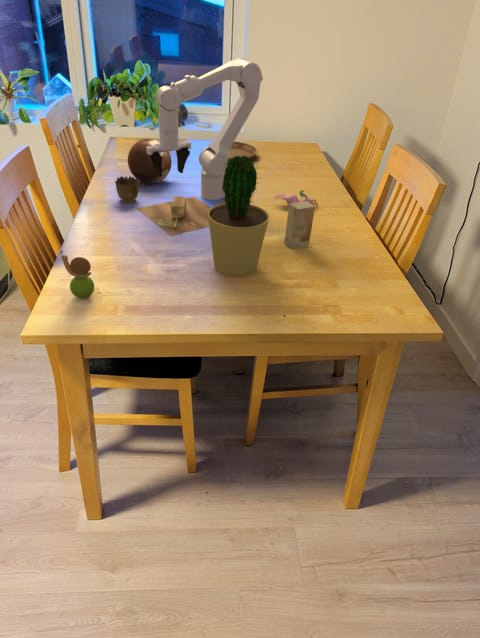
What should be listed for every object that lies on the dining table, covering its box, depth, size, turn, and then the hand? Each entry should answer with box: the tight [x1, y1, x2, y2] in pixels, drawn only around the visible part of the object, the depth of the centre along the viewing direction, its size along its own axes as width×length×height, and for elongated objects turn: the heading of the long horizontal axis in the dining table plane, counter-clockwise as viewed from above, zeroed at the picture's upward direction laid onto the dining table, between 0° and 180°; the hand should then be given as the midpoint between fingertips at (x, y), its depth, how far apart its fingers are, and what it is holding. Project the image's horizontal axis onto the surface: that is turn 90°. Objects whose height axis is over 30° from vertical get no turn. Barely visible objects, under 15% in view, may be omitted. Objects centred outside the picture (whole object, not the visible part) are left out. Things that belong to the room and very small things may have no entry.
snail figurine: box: [59, 249, 95, 299], centre depth 118 cm, size 5×6×12 cm
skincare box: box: [283, 201, 316, 249], centre depth 147 cm, size 6×4×12 cm
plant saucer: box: [227, 141, 258, 163], centre depth 212 cm, size 21×21×3 cm
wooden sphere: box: [127, 138, 172, 185], centre depth 179 cm, size 15×15×15 cm
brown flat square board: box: [136, 196, 212, 237], centre depth 160 cm, size 21×22×1 cm
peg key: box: [171, 195, 187, 228], centre depth 156 cm, size 4×14×4 cm, turn 179°
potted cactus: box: [208, 153, 270, 278], centre depth 129 cm, size 15×15×30 cm
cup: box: [114, 176, 140, 203], centre depth 165 cm, size 8×7×8 cm
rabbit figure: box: [273, 189, 319, 208], centre depth 172 cm, size 6×6×15 cm
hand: (169, 174), depth 164 cm, fingers open, 7 cm apart
